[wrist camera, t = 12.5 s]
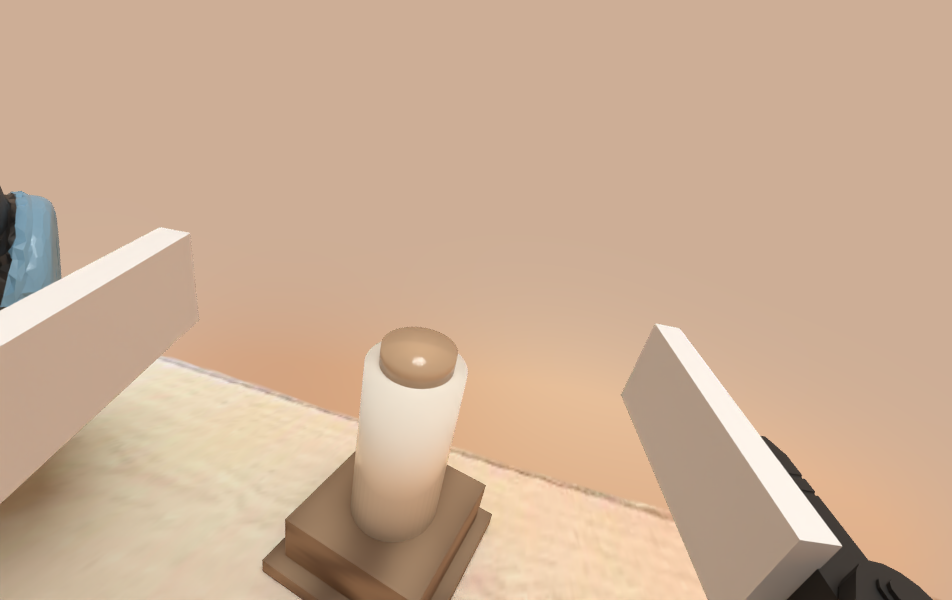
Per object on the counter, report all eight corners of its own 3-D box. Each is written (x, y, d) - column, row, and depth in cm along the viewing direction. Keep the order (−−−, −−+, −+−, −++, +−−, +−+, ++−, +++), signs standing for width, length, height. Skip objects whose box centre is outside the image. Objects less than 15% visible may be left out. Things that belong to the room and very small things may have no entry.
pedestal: (263, 570, 30) (260, 523, 28) (371, 458, 40) (376, 416, 38) (411, 676, 27) (422, 632, 24) (489, 523, 37) (502, 482, 34)
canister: (331, 514, 29) (343, 351, 23) (383, 455, 34) (403, 310, 29) (408, 559, 28) (442, 396, 22) (450, 491, 33) (486, 344, 27)
